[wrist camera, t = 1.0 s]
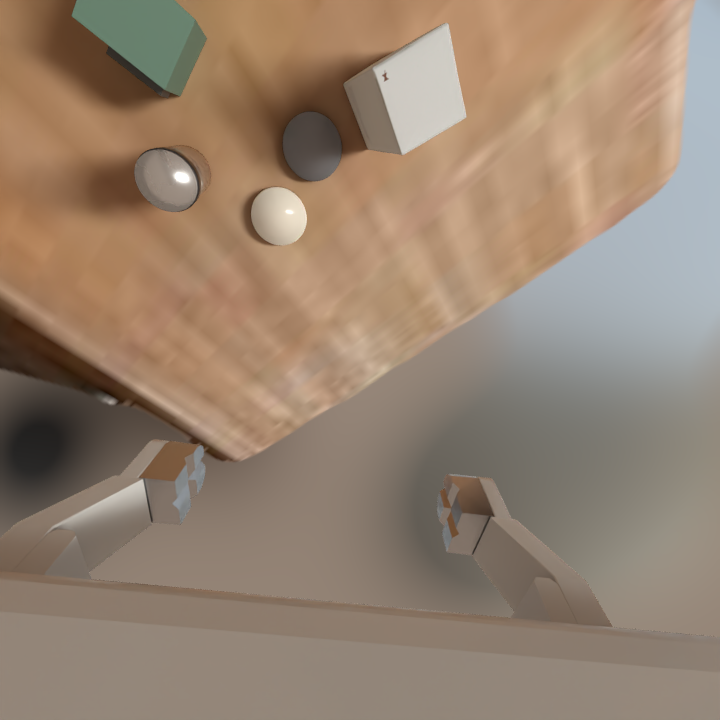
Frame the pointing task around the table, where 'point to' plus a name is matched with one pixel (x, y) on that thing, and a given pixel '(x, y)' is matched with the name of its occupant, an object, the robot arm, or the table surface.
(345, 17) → the table surface
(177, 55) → the block
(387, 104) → the supplement box
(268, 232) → the cream dome cap
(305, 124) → the disc
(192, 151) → the grey-lidded jar
